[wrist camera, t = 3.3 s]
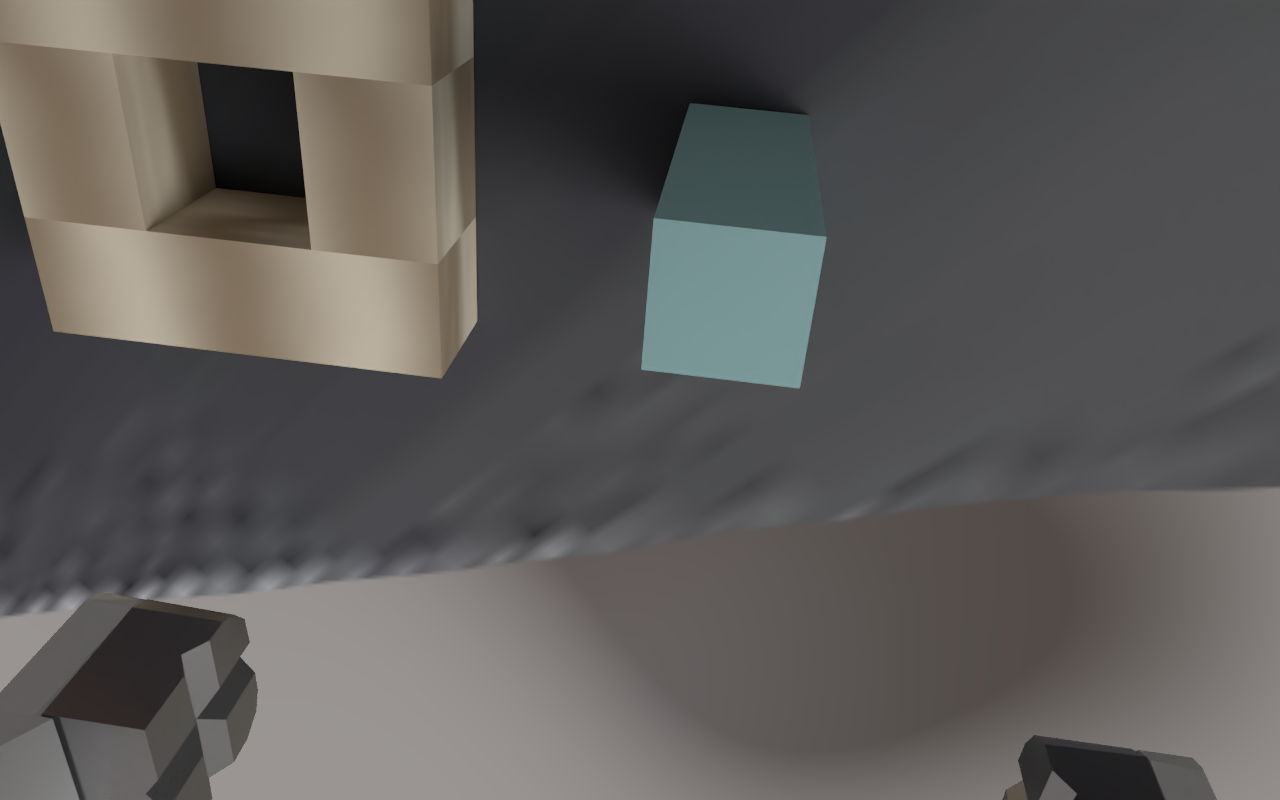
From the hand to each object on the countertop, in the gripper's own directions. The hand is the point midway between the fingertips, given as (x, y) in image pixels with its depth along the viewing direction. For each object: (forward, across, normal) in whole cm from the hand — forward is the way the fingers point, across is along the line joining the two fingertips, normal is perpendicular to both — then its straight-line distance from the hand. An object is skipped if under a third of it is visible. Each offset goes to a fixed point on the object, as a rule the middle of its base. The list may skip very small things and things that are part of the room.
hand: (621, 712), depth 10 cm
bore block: (+21, +14, 0) cm, 25 cm away
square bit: (+21, 0, 0) cm, 21 cm away
